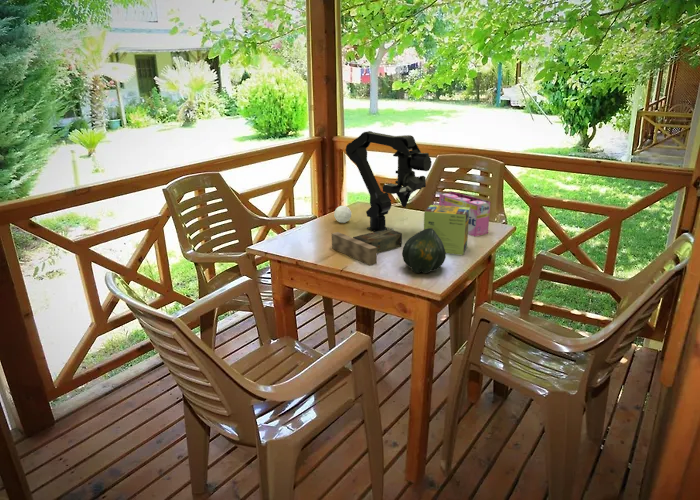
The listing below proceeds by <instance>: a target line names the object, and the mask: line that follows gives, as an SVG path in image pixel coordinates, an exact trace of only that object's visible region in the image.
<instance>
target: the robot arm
mask: <svg viewBox="0 0 700 500" xmlns="http://www.w3.org/2000/svg"><path fill="white" fill-rule="evenodd" d="M371 143H372V144H376V145H377V144H378V145H382V146H387V147H390V148H392V149H393V150H395V153H393V155H392V156H393V157H397V170H395V174H396V175H397V180H395V183H390V182H389V183H385V184H383V186H382V189H381V188H380V185H379V183H378V181H377V178H376V177H375V174H374V172H373V170H372V167H371V165H370V164H369V161H368V150H367V148H369V146H370V144H371ZM345 153H346V155H347V156H348V159H350V161H351V162H352V163H354V164H355V165H356V167H357V170H358V173H359V174H360V177H362V178H361V179H362V181H363V183H364V185H365V187H366V189H367V192H368V193H369V204H370V207H369V208H368V209H367V210H366V211H365V213H366V216H367V217H368V218H369V227H367V230H369V231H373V232H377V231H382V230H387V229H389V228H388V227H386V215H388V214H389V211H390V209H391V208H392V200H391V198H390V196H389V194H390V195H395V194H396V196H397V197H398V199H399V202H400V204H401V206H402V208H406V207H407V204H408V202H409V200H410V197H411V194H413V193H414V192H416V191H417V190H422V188H427V187H426V186H427V184H426V183H427V181H426V180H427V179H426V176H425V175H420V176H416V172H415V171H422V172H428V171H430V169H431V167H432V159H431V157H430V153H428V152H422V151H421V150H420V148H419V146H418V144H417V143H416V140H415V138H414V136H413V135H410V134H408V135H407V134H406V135H405V134H404V135H390V134H385V133H379V132H374V131H371V130H368V131H364V132H362V133H361V134H360V135H359V136H358V137H356V138H355V139H353V140H352V141H351V142H348V143H347V145H346V147H345ZM414 170H415V171H414Z"/></svg>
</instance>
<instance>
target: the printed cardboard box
mask: <svg viewBox="0 0 700 500" xmlns="http://www.w3.org/2000/svg"><path fill="white" fill-rule="evenodd" d="M352 238H355V239H357V240H360V241H362V242H365V243H367V244H370V245H372V246H375V247H377V254H379V253H384V252H387V251H391V250H394V249H398V248H402V246H403V245H402V244H403V242H402V241H403V233H402V232H399V231H398V230H394V229H393V228H388V229H387V230H382V231H377V232H375V231H373V232H369V233H365V234H359V235H356V236H353V237H352Z"/></svg>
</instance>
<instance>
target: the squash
mask: <svg viewBox="0 0 700 500" xmlns="http://www.w3.org/2000/svg"><path fill="white" fill-rule="evenodd" d="M446 255H447V253H445V248H444V245H443V242H442V241H441V239H440V238H439V237H438V235H437V234H436V232H435V231H434V230H433V228H428V229H425V230H424V229H423V230H420V231H419V232H416V233H415V234H414V235H412V236H411V237H409V238H408V239H407V240H406V241H405V242H404V245H403V248H402V252H401V256H402V259H403V262H404V263H405V265H406V266H407V267H409V268H410V269H411V271H412V272H413V273H416V274H419V273H423V274H428V273H430V272H432V271H437V270H438V269H439V268H440V267H442V266H443V264H444V263H445V260H446Z"/></svg>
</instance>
